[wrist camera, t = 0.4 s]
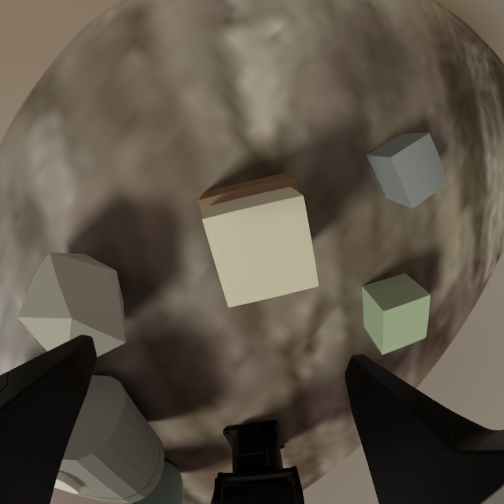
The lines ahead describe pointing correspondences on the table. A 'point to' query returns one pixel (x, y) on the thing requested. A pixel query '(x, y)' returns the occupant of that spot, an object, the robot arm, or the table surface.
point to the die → (75, 303)
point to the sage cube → (395, 312)
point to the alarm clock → (111, 448)
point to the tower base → (246, 189)
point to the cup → (166, 488)
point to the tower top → (261, 246)
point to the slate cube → (408, 168)
